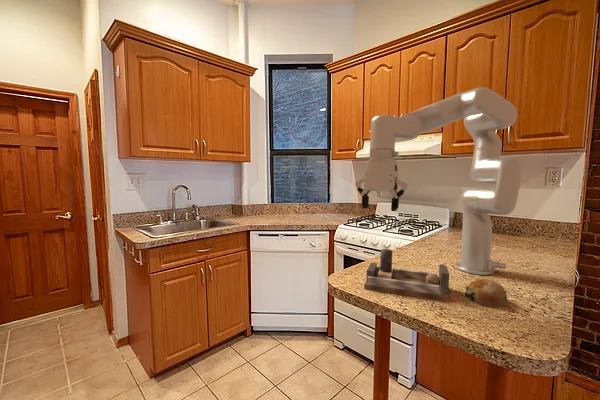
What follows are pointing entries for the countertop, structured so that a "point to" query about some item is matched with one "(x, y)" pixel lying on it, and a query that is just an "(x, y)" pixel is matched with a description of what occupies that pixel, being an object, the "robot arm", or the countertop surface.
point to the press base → (411, 282)
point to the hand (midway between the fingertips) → (379, 209)
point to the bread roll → (486, 293)
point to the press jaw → (386, 265)
